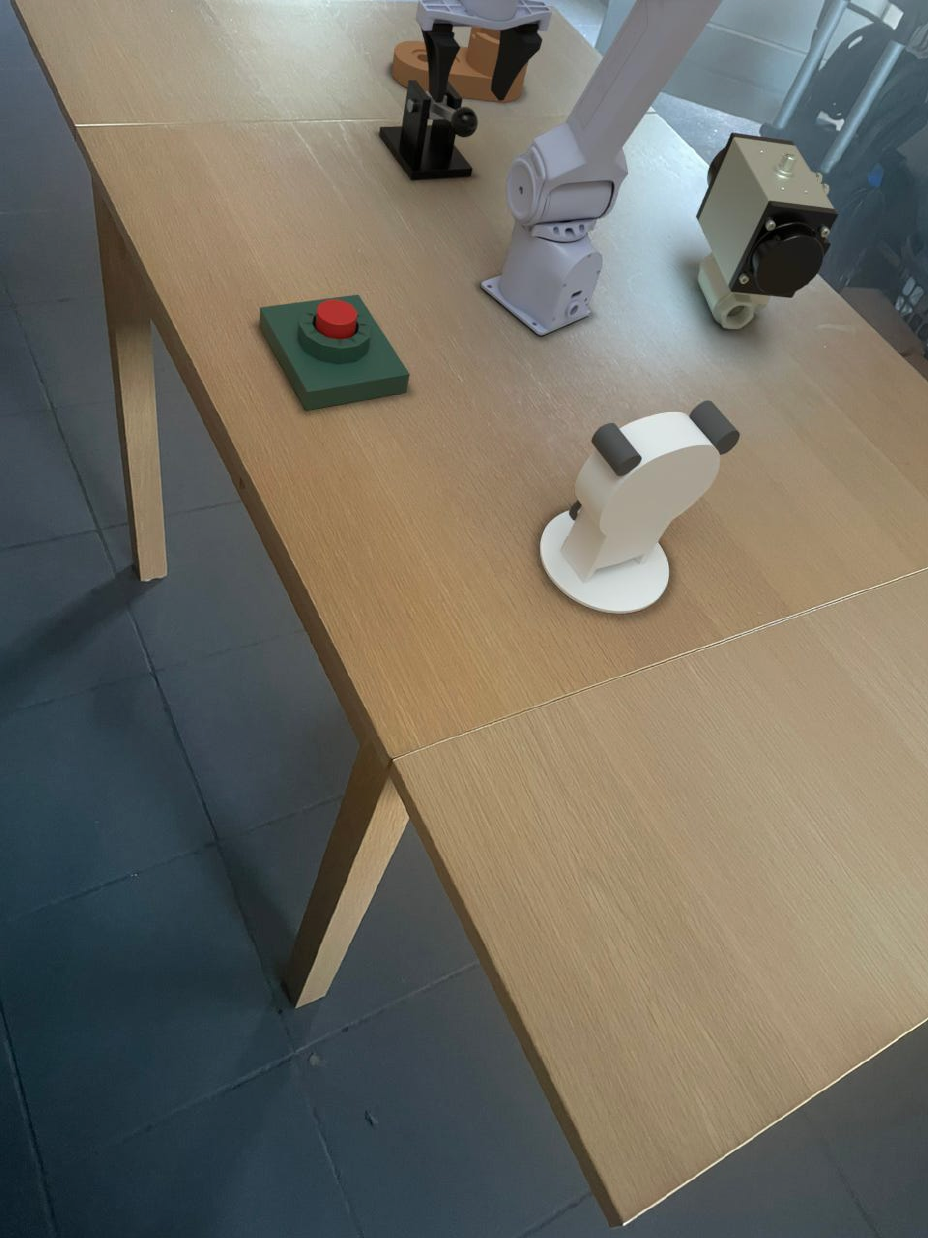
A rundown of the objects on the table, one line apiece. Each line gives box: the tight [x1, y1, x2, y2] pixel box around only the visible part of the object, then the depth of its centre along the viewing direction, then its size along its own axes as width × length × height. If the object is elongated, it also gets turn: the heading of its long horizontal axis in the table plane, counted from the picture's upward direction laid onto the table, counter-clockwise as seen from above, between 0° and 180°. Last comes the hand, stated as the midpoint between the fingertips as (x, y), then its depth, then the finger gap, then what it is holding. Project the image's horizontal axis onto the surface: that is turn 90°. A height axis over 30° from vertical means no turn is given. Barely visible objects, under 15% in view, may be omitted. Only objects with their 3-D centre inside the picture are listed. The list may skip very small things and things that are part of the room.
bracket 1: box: [391, 27, 529, 103], centre depth 122 cm, size 18×8×7 cm, turn 101°
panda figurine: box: [539, 399, 741, 615], centre depth 73 cm, size 12×11×15 cm
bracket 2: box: [378, 80, 474, 181], centre depth 109 cm, size 10×8×8 cm
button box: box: [259, 294, 410, 411], centre depth 85 cm, size 12×10×4 cm
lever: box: [425, 91, 479, 138], centre depth 105 cm, size 11×3×3 cm, turn 26°
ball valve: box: [695, 132, 839, 330], centre depth 98 cm, size 18×8×18 cm, turn 7°
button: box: [316, 300, 357, 340], centre depth 83 cm, size 4×4×2 cm
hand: (466, 96), depth 100 cm, fingers open, 7 cm apart
